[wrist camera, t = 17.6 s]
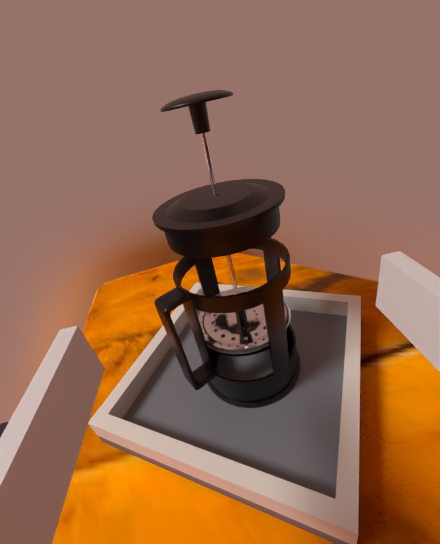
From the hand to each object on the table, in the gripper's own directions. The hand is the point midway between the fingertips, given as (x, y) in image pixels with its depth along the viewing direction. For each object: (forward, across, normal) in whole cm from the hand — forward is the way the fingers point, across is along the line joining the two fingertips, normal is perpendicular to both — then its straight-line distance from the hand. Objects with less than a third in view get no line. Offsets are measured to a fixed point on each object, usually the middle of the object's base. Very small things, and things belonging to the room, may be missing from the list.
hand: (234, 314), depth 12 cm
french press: (+9, 0, -15) cm, 17 cm away
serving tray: (+9, 0, -16) cm, 18 cm away
